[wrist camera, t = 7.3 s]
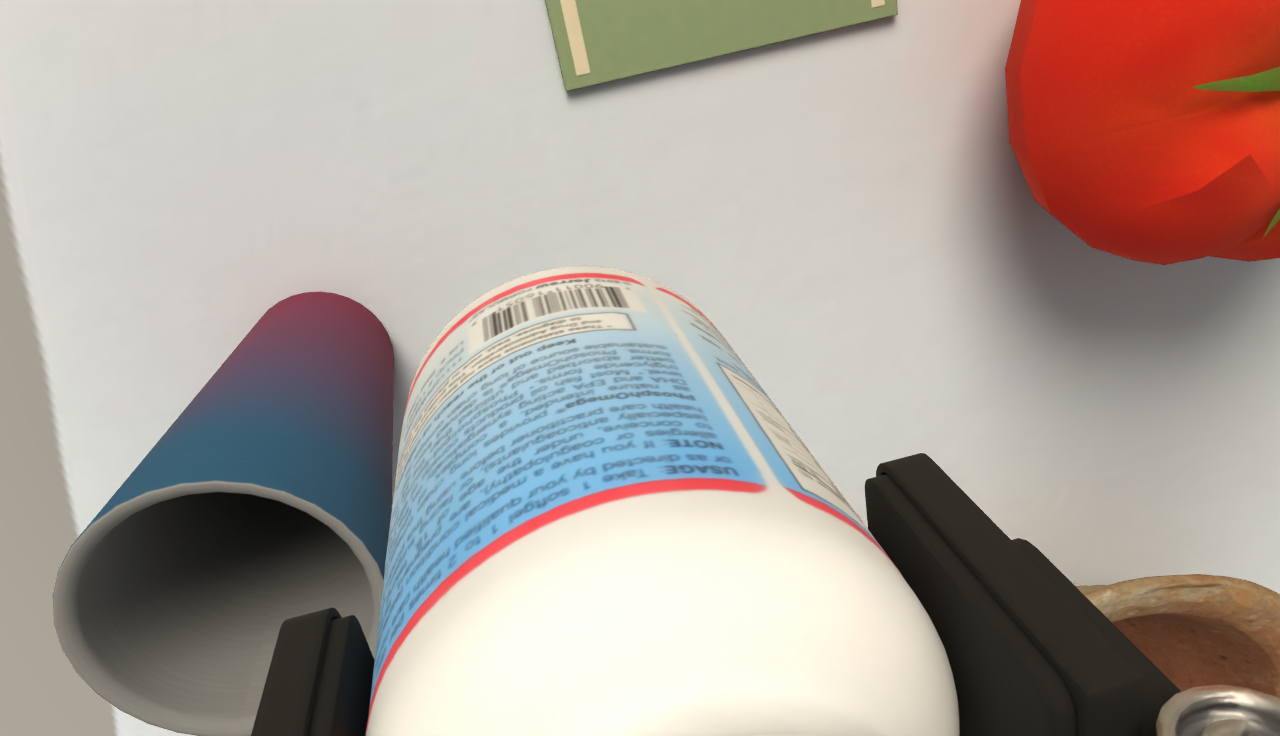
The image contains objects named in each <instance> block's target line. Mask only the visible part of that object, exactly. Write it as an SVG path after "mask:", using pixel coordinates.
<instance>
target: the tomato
mask: <svg viewBox="0 0 1280 736" xmlns="http://www.w3.org/2000/svg"><path fill="white" fill-rule="evenodd" d="M1005 74H1006V90H1007V106H1008V122H1009V138H1010V144H1011V147H1012V149H1013V151H1014V154H1015V156H1016V158H1017V160H1018V163H1019V165H1020V167H1021V170H1022V172H1023V174H1024V176H1025V179H1026V181H1027V183H1028V186H1029V188H1030V190H1031V192H1032V195H1033V197H1034V199H1035V201H1036V202H1037V203H1039V204H1040V205H1041V206H1042V207H1043V208H1045V209H1046V210H1047V211H1048V212H1049V213H1050V214H1052V215H1053V216H1054V217H1055V218H1056V219H1058V220H1059V221H1060V222H1061V223H1062V224H1064V225H1065V226H1066V227H1067V228H1068V229H1070V230H1071V231H1072V232H1073V233H1074V234H1076V235H1077V236H1078V237H1079V238H1081V239H1082V240H1083V241H1084V242H1086V243H1087V244H1088V245H1089V246H1091V247H1092V248H1095V249H1098V250H1101V251H1105V252H1108V253H1111V254H1114V255H1118V256H1121V257H1124V258H1128V259H1131V260H1135V261H1142V262H1148V263H1154V264H1161V265H1166V264H1172V263H1177V262H1182V261H1188V260H1193V259H1198V258H1204V257H1207V256H1210V257H1218V258H1226V259H1234V260H1241V261H1258V260H1266V259H1274V258H1280V0H1021V3H1020V8H1019V12H1018V17H1017V21H1016V26H1015V30H1014V35H1013V39H1012V43H1011V47H1010V51H1009V55H1008V59H1007V63H1006V68H1005Z"/></svg>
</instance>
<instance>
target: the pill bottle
mask: <svg viewBox="0 0 1280 736" xmlns="http://www.w3.org/2000/svg"><path fill="white" fill-rule="evenodd" d="M959 735H960V727H959V708H958V699H957V693H956V688H955V683H954V678H953V673H952V670H951V667H950V663H949V660H948V657H947V654H946V651H945V648H944V646H943V644H942V641H941V639H940V637H939V635H938V633H937V630H936V629H935V627H934V625H933V623H932V621H931V619H930V617H929V615H928V614H927V612H926V610H925V609H924V607H923V606H922V604H921V603H920V601H919V599H918V598H917V596H916V595H915V593H914V592H913V590H912V589H911V588H910V586H909V585H908V584H907V582H906V581H905V579H904V578H903V576H902V575H901V573H900V571H899V570H898V568H897V567H896V566H895V565H894V563H893V562H892V561H891V559H890V558H889V557H888V555H887V554H886V552H885V551H884V550H883V548H882V547H881V546H880V545H879V544H878V542H877V541H876V540H875V538H874V537H873V535H872V534H871V533H870V531H869V530H868V529H867V527H866V526H865V525H864V523H863V522H862V520H861V519H860V517H859V516H858V515H857V514H856V513H855V512H854V510H853V509H852V508H851V507H850V505H849V504H848V503H847V501H846V500H845V498H844V497H843V496H842V494H841V493H840V492H839V490H838V489H837V488H836V486H835V485H834V484H833V482H832V481H831V480H830V478H829V477H828V476H827V474H826V473H825V472H824V470H823V469H822V468H821V466H820V465H819V464H818V462H817V461H816V460H815V458H814V457H813V456H812V454H811V453H810V451H809V450H808V449H807V447H806V446H805V445H804V443H803V442H802V441H801V440H800V438H799V437H798V436H797V434H796V433H795V432H794V430H793V429H792V428H791V426H790V424H789V423H788V422H787V421H786V419H785V418H784V417H783V416H782V414H781V413H780V411H779V410H778V409H777V407H776V406H775V405H774V403H773V402H772V401H771V399H770V398H769V397H768V395H767V394H766V393H765V392H764V390H763V389H762V388H761V386H760V385H759V384H758V382H757V381H756V379H755V378H754V377H753V375H752V374H751V373H750V371H749V370H748V369H747V367H746V366H745V365H744V363H743V362H742V361H741V360H740V358H739V357H738V355H737V354H736V353H735V351H734V350H733V349H732V347H731V346H730V345H729V344H728V342H727V341H726V339H725V338H724V337H723V335H722V334H721V333H720V332H719V331H718V330H717V328H716V327H715V326H714V325H713V324H712V323H711V322H710V321H709V319H708V318H707V317H706V316H705V315H704V314H703V313H702V312H701V311H700V310H699V309H698V308H696V307H695V306H694V305H693V304H692V303H691V302H689V301H688V300H686V299H685V298H684V297H682V296H681V295H679V294H678V293H676V292H674V291H673V290H671V289H669V288H667V287H666V286H664V285H662V284H660V283H658V282H656V281H653V280H651V279H648V278H646V277H643V276H640V275H637V274H633V273H630V272H626V271H622V270H617V269H613V268H605V267H594V266H574V267H561V268H555V269H549V270H544V271H540V272H536V273H532V274H528V275H525V276H522V277H519V278H516V279H514V280H511V281H509V282H506V283H504V284H502V285H500V286H498V287H496V288H494V289H492V290H491V291H489V292H487V293H485V294H484V295H482V296H481V297H479V298H477V299H476V300H474V301H473V302H472V303H470V304H469V305H468V306H467V307H465V308H464V309H463V310H462V311H461V312H460V313H459V314H457V315H456V316H455V317H454V318H453V319H452V320H451V321H450V322H449V323H448V324H447V325H446V326H445V328H444V329H443V330H442V331H441V332H440V334H439V335H438V336H437V338H436V339H435V340H434V342H433V343H432V344H431V346H430V347H429V349H428V350H427V352H426V354H425V355H424V357H423V359H422V361H421V363H420V365H419V367H418V369H417V372H416V374H415V377H414V380H413V382H412V385H411V388H410V391H409V396H408V400H407V404H406V409H405V414H404V420H403V426H402V432H401V439H400V445H399V454H398V462H397V472H396V480H395V488H394V496H393V504H392V512H391V521H390V529H389V538H388V546H387V554H386V561H385V573H384V582H383V592H382V601H381V609H380V616H379V626H378V635H377V645H376V654H375V662H374V670H373V679H372V689H371V698H370V707H369V716H368V722H367V728H366V736H959Z"/></svg>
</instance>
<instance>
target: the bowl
mask: <svg viewBox="0 0 1280 736" xmlns="http://www.w3.org/2000/svg"><path fill="white" fill-rule="evenodd" d="M1075 587H1076V588H1077V589H1078V590H1080V591H1081V592H1082V593H1083V594H1084V595H1085V596H1086V597H1087V598H1088V599H1089V600H1090V601H1091V602H1092V603H1093V604H1094V605H1095V606H1096V607H1097V608H1098V609H1099V610H1100V611H1101V612H1102V613H1103V614H1104V615H1105V616H1106V617H1107V618H1108V619H1109V620H1110V621H1111V622H1112V623H1113V624H1114V625H1115V626H1116V627H1117V628H1118V629H1119V630H1120V631H1121V632H1122V633H1123V634H1124V635H1125V636H1126V637H1127V638H1128V639H1129V640H1130V641H1131V642H1132V643H1133V644H1134V645H1135V646H1136V647H1137V648H1138V649H1139V650H1140V651H1141V652H1142V653H1143V654H1144V655H1145V656H1146V657H1147V658H1148V659H1149V660H1150V661H1151V662H1152V663H1153V664H1154V665H1155V666H1156V667H1157V668H1158V669H1159V670H1160V671H1161V672H1162V673H1163V674H1164V675H1165V676H1167V677H1168V678H1169V679H1170V680H1171V681H1172V682H1173V683H1174V684H1175V685H1176V686H1177V687H1178V688H1179V689H1180V690H1181V691H1182V692H1183V691H1185V690H1188V689H1191V688H1193V687H1198V686H1209V685H1228V686H1237V687H1245V688H1250V689H1253V690H1257V691H1260V692H1263V693H1266V694H1270V695H1273V696H1276V697H1278V698H1280V594H1278V593H1276V592H1274V591H1272V590H1270V589H1268V588H1266V587H1263V586H1261V585H1258V584H1256V583H1253V582H1250V581H1246V580H1242V579H1236V578H1231V577H1225V576H1213V575H1200V574H1194V575H1171V576H1156V577H1145V578H1139V579H1134V580H1129V581H1123V582H1118V583H1115V584H1111V585H1108V586H1105V585H1094V586H1075Z"/></svg>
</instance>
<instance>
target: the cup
mask: <svg viewBox="0 0 1280 736" xmlns="http://www.w3.org/2000/svg"><path fill="white" fill-rule="evenodd" d="M393 369H394V357H393V349H392V344H391V341H390V338H389V335H388V333H387V332H386V330H385V328H384V327H383V325H382V323H381V322H380V321H379V320H378V319H377V317H376V316H375V315H374V314H373V313H372V312H371V311H369V310H368V309H367V308H365V307H364V306H363V305H361V304H360V303H358V302H356V301H354V300H352V299H350V298H347V297H344V296H341V295H338V294H334V293H326V292H309V293H302V294H298V295H294V296H291V297H289V298H287V299H284V300H282V301H280V302H278V303H277V304H276V305H274V306H273V307H272V308H270V309H269V310H268V311H267V312H266V313H265V314H264V316H263V317H262V318H261V319H260V320H259V321H258V322H257V324H256V325H255V326H254V327H253V328H252V330H251V331H250V332H249V333H248V334H247V336H246V337H245V338H244V339H243V340H242V342H241V343H240V344H239V345H238V346H237V348H236V349H235V350H234V351H233V352H232V354H231V355H230V356H229V357H228V358H227V360H226V361H225V362H224V363H223V364H222V366H221V367H220V368H219V369H218V370H217V372H216V373H215V374H214V375H213V376H212V378H211V379H210V380H209V381H208V382H207V384H206V385H205V386H204V387H203V388H202V390H201V391H200V392H199V393H198V394H197V396H196V397H195V398H194V399H193V400H192V402H191V403H190V404H189V405H188V406H187V408H186V409H185V410H184V411H183V412H182V414H181V415H180V416H179V417H178V418H177V420H176V421H175V422H174V423H173V424H172V426H171V427H170V428H169V429H168V430H167V432H166V433H165V434H164V435H163V436H162V438H161V439H160V440H159V441H158V442H157V444H156V445H155V446H154V447H153V448H152V450H151V451H150V452H149V453H148V454H147V456H146V457H145V458H144V459H143V460H142V462H141V463H140V464H139V465H138V466H137V468H136V469H135V470H134V471H133V472H132V474H131V475H130V476H129V477H128V478H127V480H126V481H125V482H124V483H123V484H122V486H121V487H120V488H119V489H118V490H117V492H116V493H115V494H114V495H113V496H112V498H111V499H110V500H109V501H108V502H107V504H106V505H105V506H104V507H103V508H102V510H101V511H100V512H99V513H98V514H97V516H96V517H95V518H94V519H93V520H92V522H91V523H90V524H89V525H88V526H87V528H86V529H85V530H84V531H83V532H82V534H81V535H80V536H79V537H78V538H77V540H76V541H75V542H74V544H72V546H71V548H70V549H69V552H68V553H67V555H66V557H65V559H64V561H63V563H62V565H61V567H60V569H59V571H58V575H57V580H56V584H55V588H54V593H53V613H54V625H55V628H56V631H57V634H58V638H59V641H60V643H61V647H62V650H63V651H64V653H65V654H66V656H67V658H68V659H69V661H70V662H71V664H72V666H73V667H74V669H75V671H76V672H77V673H78V674H79V676H80V677H81V678H83V680H84V681H85V682H86V683H87V684H88V685H89V686H90V687H91V688H92V689H93V690H94V691H95V692H96V693H97V694H98V695H100V696H101V697H102V698H104V699H105V700H107V701H108V702H109V703H111V704H112V705H114V706H115V707H117V708H118V709H119V710H121V711H123V712H125V713H127V714H129V715H131V716H133V717H135V718H137V719H140V720H142V721H144V722H146V723H148V724H151V725H154V726H158V727H161V728H164V729H168V730H171V731H174V732H177V733H184V734H191V735H197V736H251V733H252V730H253V726H254V722H255V719H256V715H257V711H258V708H259V704H260V700H261V697H262V693H263V689H264V686H265V682H266V678H267V675H268V671H269V668H270V664H271V660H272V657H273V653H274V649H275V646H276V642H277V638H278V635H279V631H280V628H281V625H282V623H283V622H284V621H285V620H286V619H290V618H294V617H297V616H301V615H305V614H309V613H313V612H316V611H320V610H324V609H328V608H335V609H336V610H337V611H338V612H339V613H340V615H341V617H342V618H343V617H346V616H350V615H354V616H356V618H357V619H358V621H359V623H360V625H361V628H362V630H363V633H364V635H365V638H366V640H367V643H368V645H369V647H370V650H371V652H372V655H373V657H374V660H375V654H376V645H377V635H378V626H379V616H380V609H381V601H382V592H383V582H384V573H385V561H386V554H387V546H388V538H389V529H390V521H391V512H392V450H393Z"/></svg>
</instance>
